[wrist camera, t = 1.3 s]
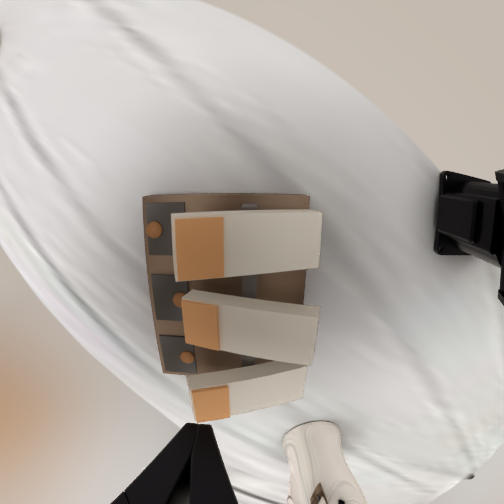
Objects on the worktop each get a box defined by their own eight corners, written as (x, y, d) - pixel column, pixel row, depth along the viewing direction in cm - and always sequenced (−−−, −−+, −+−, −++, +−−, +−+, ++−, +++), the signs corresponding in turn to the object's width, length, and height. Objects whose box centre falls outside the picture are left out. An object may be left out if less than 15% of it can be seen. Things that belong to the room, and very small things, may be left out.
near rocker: (310, 209, 14) (324, 212, 13) (307, 261, 15) (321, 269, 14) (170, 213, 12) (172, 217, 11) (174, 273, 13) (176, 283, 11)
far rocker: (298, 355, 16) (309, 368, 15) (294, 387, 17) (303, 400, 16) (186, 375, 14) (189, 391, 13) (191, 407, 15) (195, 423, 14)
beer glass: (331, 408, 22) (372, 545, 8) (351, 438, 24) (386, 548, 9) (265, 434, 23) (273, 568, 8) (294, 460, 24) (308, 570, 10)
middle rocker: (320, 306, 13) (317, 320, 12) (314, 352, 14) (310, 368, 13) (192, 289, 15) (179, 299, 14) (195, 332, 16) (184, 344, 15)
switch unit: (304, 194, 17) (320, 199, 13) (292, 365, 21) (300, 399, 17) (150, 195, 17) (125, 199, 13) (167, 361, 20) (154, 394, 17)
